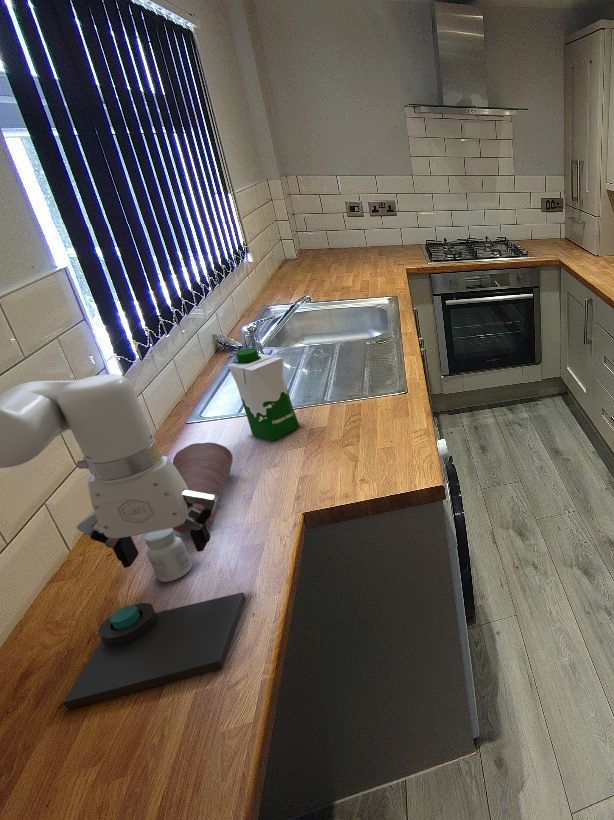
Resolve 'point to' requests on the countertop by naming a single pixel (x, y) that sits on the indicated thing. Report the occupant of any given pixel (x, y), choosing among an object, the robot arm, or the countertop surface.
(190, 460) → the food
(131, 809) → the countertop surface
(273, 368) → the milk carton
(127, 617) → the button
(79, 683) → the scale
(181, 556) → the pill bottle
